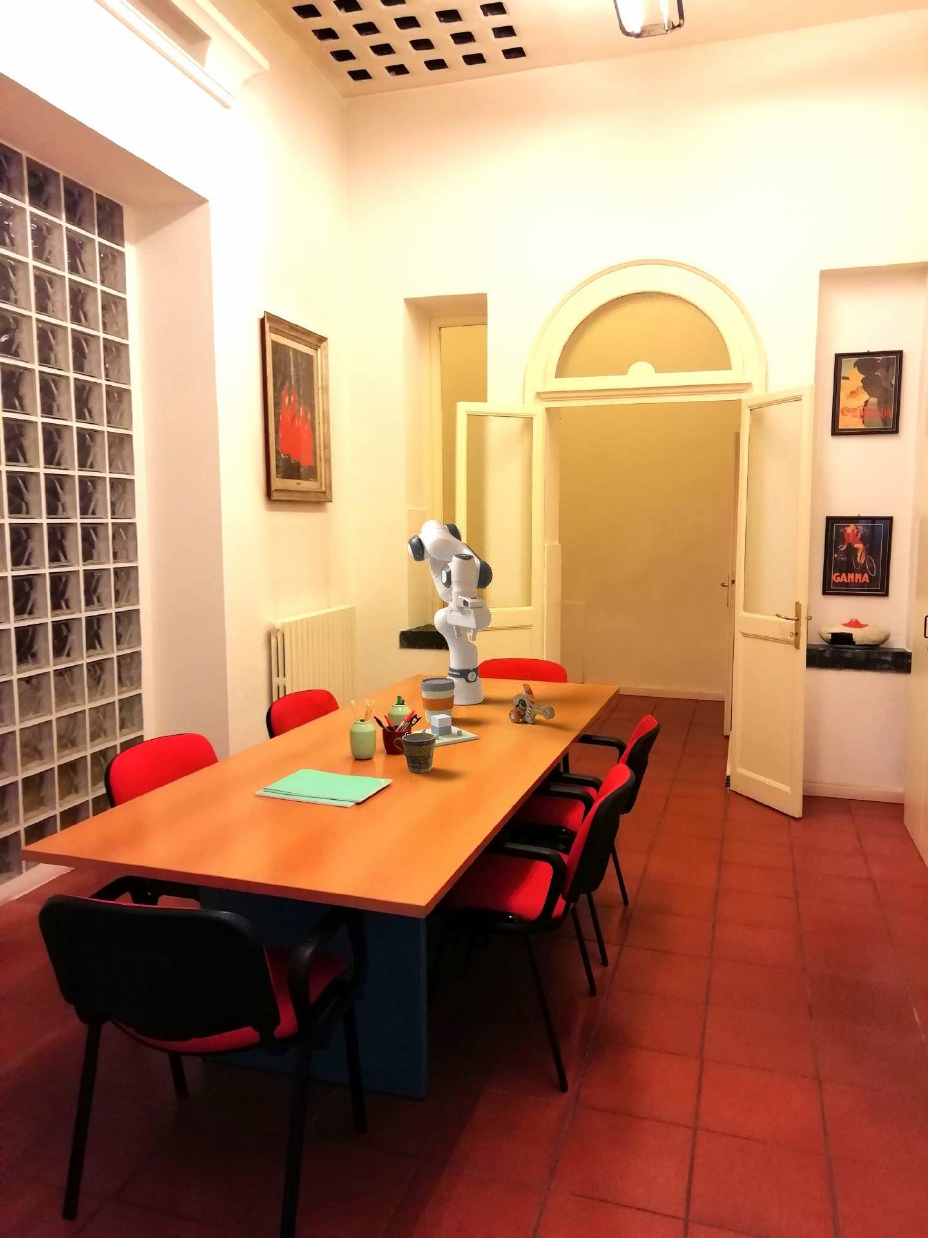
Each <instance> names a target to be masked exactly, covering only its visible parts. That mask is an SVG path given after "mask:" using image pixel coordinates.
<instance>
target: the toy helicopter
mask: <svg viewBox="0 0 928 1238" xmlns="http://www.w3.org/2000/svg"><path fill="white" fill-rule="evenodd" d="M522 687H523V692H520V693H516V694H515V695H514V697H513V699H512V705H513V707H512V708H513V709H510V710H509V712H508V719H509V720H510V722H512V723H513V724H516V723H519V722H520V721H521V720H522V721H523V722H527V723H528V724H529V725H532V724H536V717H537V715H539V716H542V717H543V718H544V719H545V720H552V719H554V717H556V716H555V715H556V712H555V708H554V707H553V706H552V705H550V704H549V705H545V706H543V705H541V704H537V703H536V702H535V701H536V698H535V695H534V692H533V689H532V687H531V685H530V684H529V683H522Z"/></svg>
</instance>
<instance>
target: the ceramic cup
mask: <svg viewBox="0 0 928 1238" xmlns="http://www.w3.org/2000/svg"><path fill="white" fill-rule="evenodd" d="M396 741H400V742H401V743H402V746H403V749H402V748H401V747H399V746H398V745H397V744H396ZM435 742H436V736H435V735H433V734H430V733H412V734H407V735H406V734H404V735H403V736H402V738H401V737H396V738H394V741H393V746H395V748H396V749H397V750H399V751H400V752H401V754H402V755H404V757H405V760H406V764H407V765H406V766H407V769H408V771H409V772H411V773H416V774H417V773H418V774H423V773H428V772H430V771H431V770H432V768H433V759H434V753H435V747H436V746H435Z"/></svg>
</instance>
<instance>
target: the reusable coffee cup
mask: <svg viewBox="0 0 928 1238" xmlns="http://www.w3.org/2000/svg"><path fill="white" fill-rule="evenodd" d="M454 688H455V685H454V680H453V679H451V678H447V677H428V678H424V679H422V680H420V690H421V702H422V707H423V709H424V714H425V721H426V723H428V724H431V716H435V715H441V714H445V715H448V716H451V717H452V711H453V708H454V705H455V704H454V695H453V693H454Z"/></svg>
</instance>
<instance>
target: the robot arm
mask: <svg viewBox="0 0 928 1238" xmlns="http://www.w3.org/2000/svg"><path fill="white" fill-rule="evenodd" d="M420 532H421V533H419V534H416V535H413V536H412V537H410V538H409V539H408V541H407V551H408V554H409V555H410V557H411V558H412V559H413V560H414V561H416V562H425V560H428V567H429V572H430V575H431V578H432V582H433V583H434V586H435V589H436V591H437V594H438V596H439V598H440V600H441V601H443V602H445V603H447V604H448V605H447V606H446V607H444V608H440V609H439V610H437V611H436V612H435V614H434V618H433V623H434V627H435V629H436V630H437V632H439V633H440V634H441V635H442V637H444V638H445V641H446V642H447V646H448V650H449V661H450V662H449V663H450V665H449V667H448V670H447V671H448V673H447V677H446V678H451V679H453V680H454V685H455V688H454V693H453V695H454V704H453V705H456V706H457V705H458V706H459V705H461V706H462V705H463V706H466V705H468V706H469V705H476V704H480V703H482V702H483V700H485V699H486V697H485V695H484V694H483V684H482V679H481V678H480V677H479V676H480V666H479V660H478V657H479V656H478V655H479V654H478V648H477V646H476V644H474V643H473V642H476V640H477V634H478V632H479V631H482V630H484V629H486V628H488V626H490V625H491V622H492V613H491V610H490V609H489V607H488V606H487V605H486V600H484V599H483V598H482V597H481V596H480V595H479V594H478V589H479V590H481V589H482V590H485V589H486V588H487V587H489V586H490V584H491V583H492V582H493V568H492V567H491V565H490V564H489V563H488V562H486V561H485V560H483V559H482V558H481V557H480V556H479V555H478V554H477V553H476V552H475V551H474V550H473V549H472V547H471V546H469V545H468V544H467V543H465V542H463V541H462V533H461V531H460V528H458V526H457V525H456V524H455V523H446V524H443V522H441V521H439V520H437V519H431V520H428V521H426V522H425V523H424V524H423V525H422V528H421V531H420ZM468 633H470V635H469V638H468Z"/></svg>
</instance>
